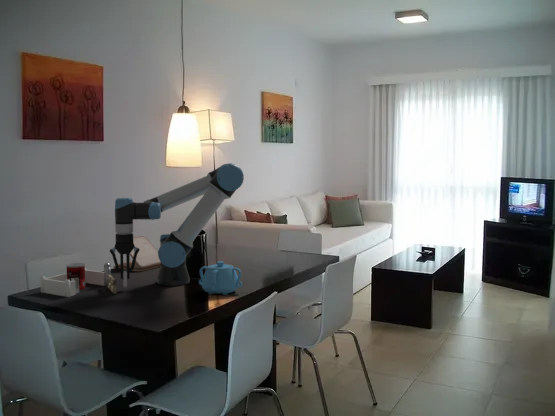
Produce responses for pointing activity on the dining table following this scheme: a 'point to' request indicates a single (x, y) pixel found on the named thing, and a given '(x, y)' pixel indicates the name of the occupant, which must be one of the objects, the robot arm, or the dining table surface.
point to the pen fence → (68, 283)
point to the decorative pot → (220, 278)
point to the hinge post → (106, 272)
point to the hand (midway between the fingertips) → (125, 286)
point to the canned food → (77, 273)
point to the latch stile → (76, 283)
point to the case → (143, 255)
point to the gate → (111, 283)
